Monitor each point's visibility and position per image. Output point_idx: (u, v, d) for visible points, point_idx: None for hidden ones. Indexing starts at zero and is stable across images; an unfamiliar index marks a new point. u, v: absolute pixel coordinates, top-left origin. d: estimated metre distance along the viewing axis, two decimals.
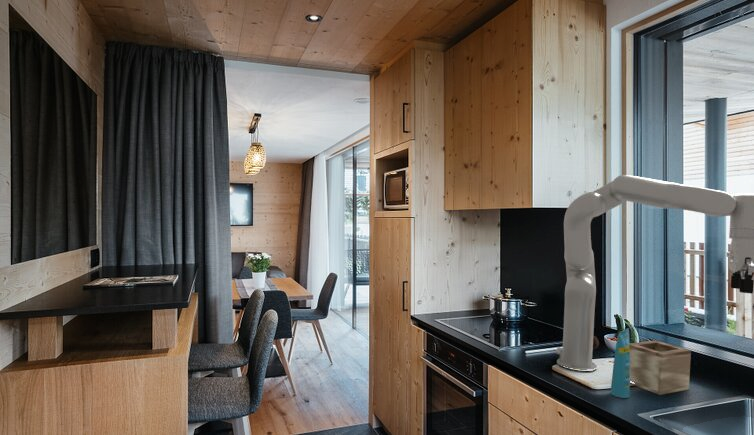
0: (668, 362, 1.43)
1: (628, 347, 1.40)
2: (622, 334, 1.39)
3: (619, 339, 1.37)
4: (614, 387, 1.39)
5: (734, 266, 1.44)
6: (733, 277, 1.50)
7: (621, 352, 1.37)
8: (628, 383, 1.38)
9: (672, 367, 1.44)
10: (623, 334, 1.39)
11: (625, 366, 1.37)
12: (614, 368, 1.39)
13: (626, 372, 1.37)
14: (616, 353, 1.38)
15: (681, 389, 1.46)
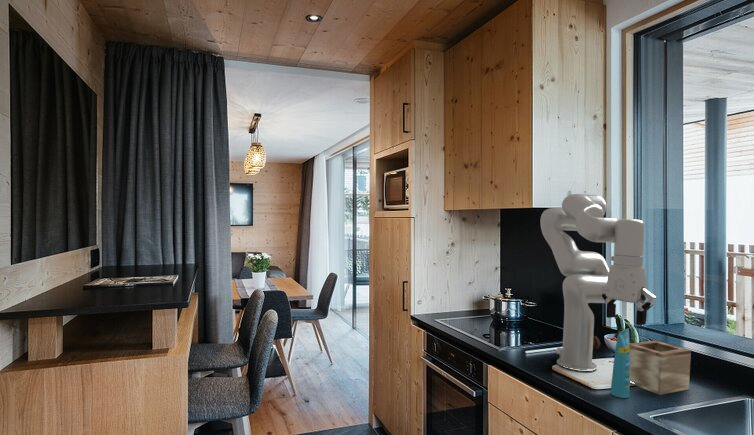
0: (668, 362, 1.43)
1: (628, 347, 1.40)
2: (622, 334, 1.39)
3: (619, 339, 1.37)
4: (614, 387, 1.39)
5: (629, 297, 1.35)
6: (609, 306, 1.42)
7: (621, 352, 1.37)
8: (628, 383, 1.38)
9: (672, 367, 1.44)
10: (623, 334, 1.39)
11: (625, 366, 1.37)
12: (614, 368, 1.39)
13: (626, 372, 1.37)
14: (616, 353, 1.38)
15: (681, 389, 1.46)
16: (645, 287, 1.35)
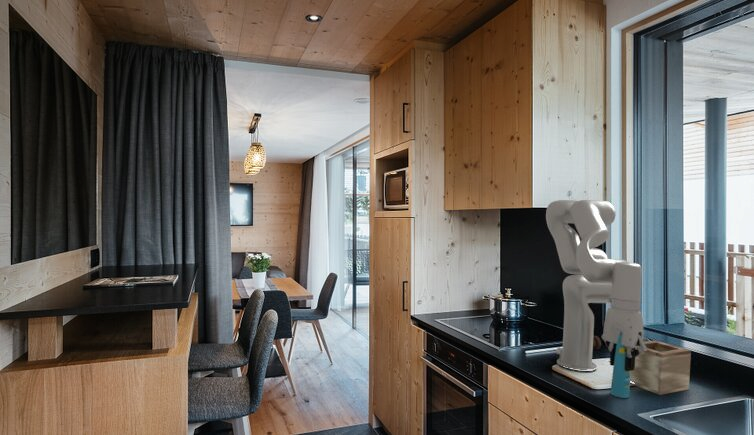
0: (668, 362, 1.43)
1: None
2: None
3: (620, 339, 1.37)
4: (614, 387, 1.39)
5: (626, 341, 1.35)
6: (613, 354, 1.41)
7: (621, 352, 1.37)
8: (628, 383, 1.38)
9: (672, 367, 1.44)
10: None
11: None
12: (614, 368, 1.39)
13: (626, 372, 1.37)
14: (616, 353, 1.38)
15: (681, 389, 1.46)
16: (642, 332, 1.35)
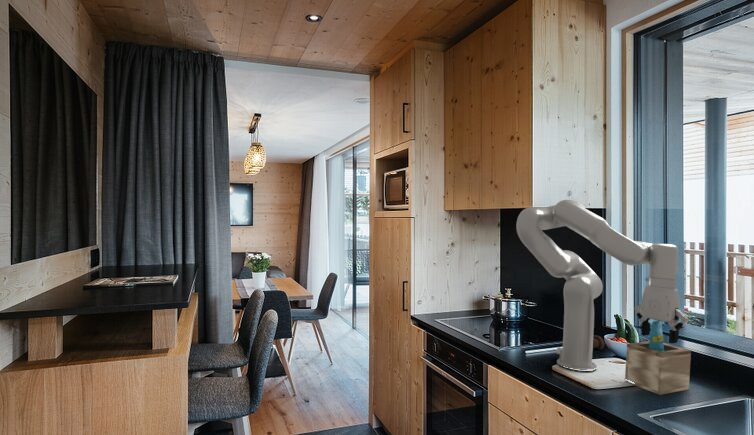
0: (668, 362, 1.43)
1: (662, 336, 1.50)
2: (655, 324, 1.50)
3: (652, 328, 1.48)
4: None
5: (664, 317, 1.45)
6: (644, 325, 1.53)
7: (655, 341, 1.48)
8: None
9: (672, 367, 1.44)
10: (656, 324, 1.50)
11: None
12: None
13: None
14: (650, 342, 1.49)
15: (681, 389, 1.46)
16: (678, 308, 1.45)
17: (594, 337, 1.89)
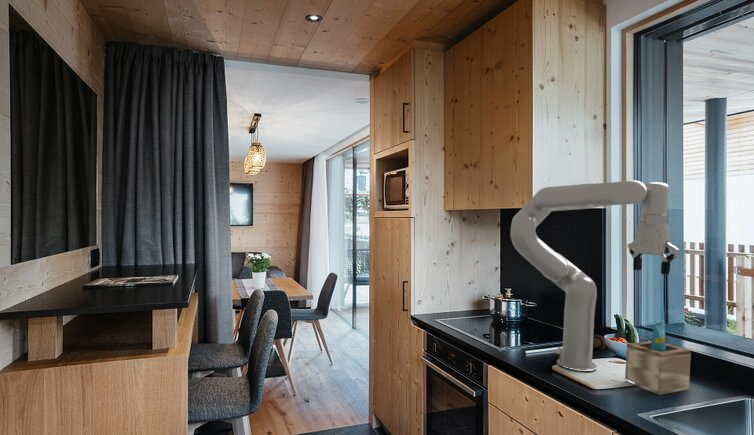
0: (668, 362, 1.43)
1: (664, 337, 1.49)
2: (658, 325, 1.49)
3: (655, 330, 1.47)
4: None
5: (655, 250, 1.55)
6: (636, 260, 1.62)
7: (657, 342, 1.47)
8: None
9: (672, 367, 1.44)
10: (659, 325, 1.49)
11: None
12: None
13: None
14: (652, 343, 1.48)
15: (681, 389, 1.46)
16: (669, 241, 1.55)
17: (596, 337, 1.90)
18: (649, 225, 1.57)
